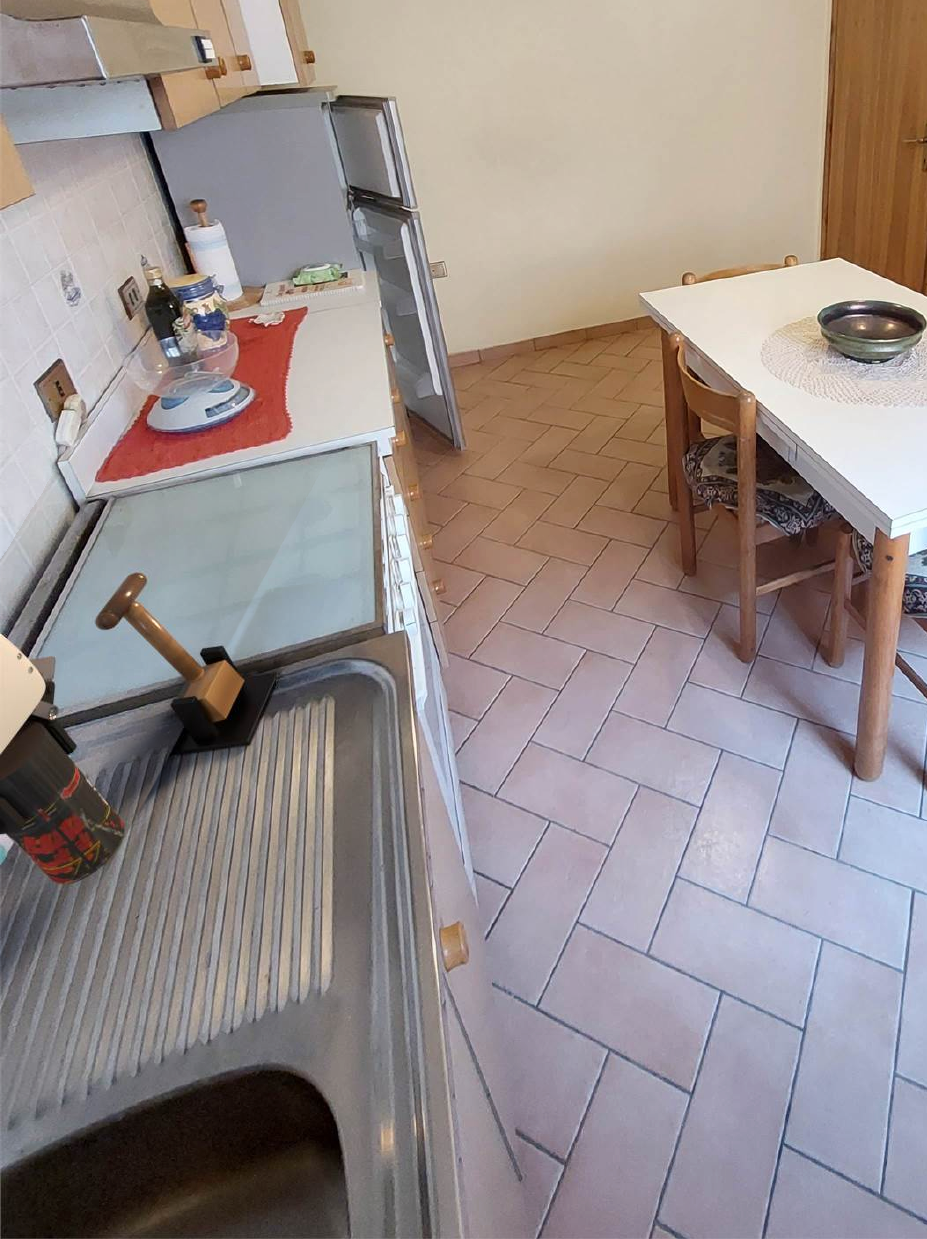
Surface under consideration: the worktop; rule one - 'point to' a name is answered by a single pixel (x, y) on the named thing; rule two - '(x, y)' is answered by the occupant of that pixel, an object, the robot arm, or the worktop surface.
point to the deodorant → (56, 808)
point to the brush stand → (240, 719)
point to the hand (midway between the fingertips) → (32, 788)
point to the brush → (173, 651)
